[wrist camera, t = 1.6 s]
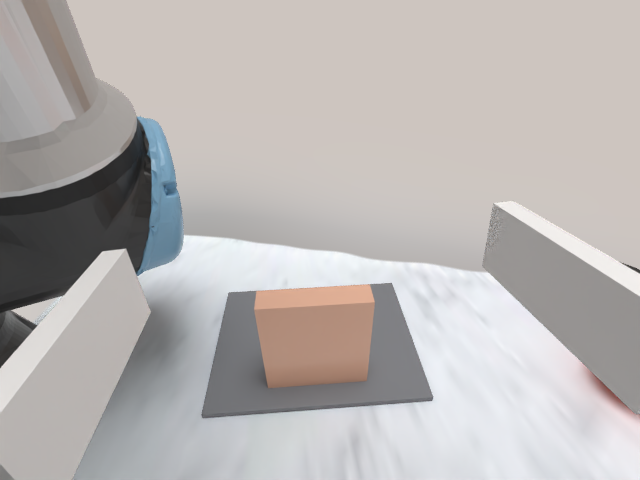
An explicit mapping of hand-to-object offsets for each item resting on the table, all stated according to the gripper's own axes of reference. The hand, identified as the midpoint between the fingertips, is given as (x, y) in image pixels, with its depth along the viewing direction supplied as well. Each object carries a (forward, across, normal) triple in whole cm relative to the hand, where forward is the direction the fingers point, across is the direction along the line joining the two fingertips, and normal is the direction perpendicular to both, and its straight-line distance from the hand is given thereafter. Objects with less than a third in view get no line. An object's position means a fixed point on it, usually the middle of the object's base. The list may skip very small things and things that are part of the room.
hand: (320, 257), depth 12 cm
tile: (+11, 0, -20) cm, 23 cm away
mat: (+16, 0, -20) cm, 25 cm away
